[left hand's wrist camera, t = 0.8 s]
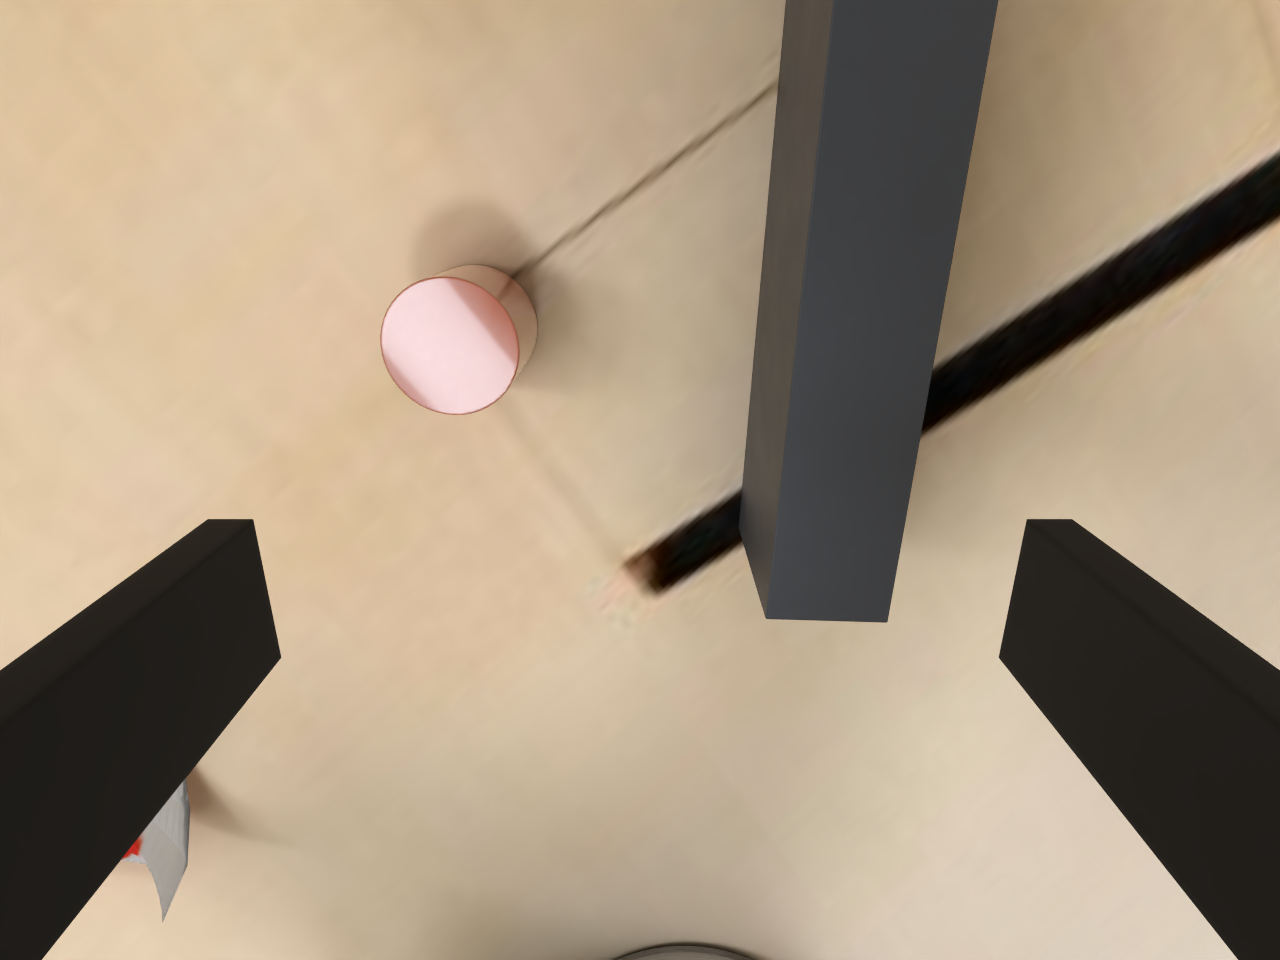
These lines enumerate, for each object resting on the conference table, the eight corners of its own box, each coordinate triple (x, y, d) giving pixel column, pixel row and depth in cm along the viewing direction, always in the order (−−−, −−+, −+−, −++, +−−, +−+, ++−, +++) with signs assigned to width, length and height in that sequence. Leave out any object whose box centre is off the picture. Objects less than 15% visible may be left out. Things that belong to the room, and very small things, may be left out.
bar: (834, 531, 34) (887, 622, 27) (738, 528, 34) (765, 619, 27) (921, -88, 26) (1036, -205, 18) (794, -93, 26) (856, -213, 18)
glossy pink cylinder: (538, 385, 32) (521, 417, 27) (423, 382, 32) (386, 413, 27) (536, 266, 30) (517, 278, 25) (415, 262, 30) (373, 273, 25)
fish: (-195, 822, 34) (-287, 1025, 27) (119, 615, 38) (115, 743, 31) (5, 903, 41) (-25, 1085, 34) (256, 720, 45) (281, 847, 37)
